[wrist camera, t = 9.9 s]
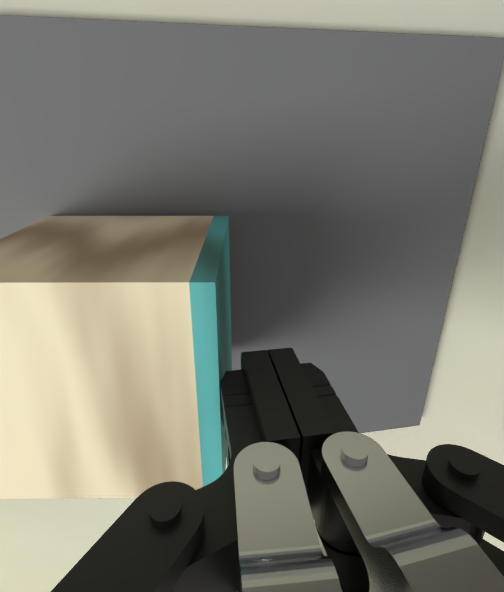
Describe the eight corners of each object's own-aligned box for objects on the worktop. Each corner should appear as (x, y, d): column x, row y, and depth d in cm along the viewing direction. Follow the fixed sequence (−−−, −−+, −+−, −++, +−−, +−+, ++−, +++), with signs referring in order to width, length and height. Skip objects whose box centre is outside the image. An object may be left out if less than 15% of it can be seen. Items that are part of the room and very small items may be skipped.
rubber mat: (497, 40, 16) (508, 37, 16) (413, 418, 24) (419, 425, 24) (-290, 6, 12) (-313, 1, 11) (-69, 482, 20) (-76, 491, 19)
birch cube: (215, 282, 9) (-94, 282, 9) (223, 496, 12) (-10, 498, 12) (228, 215, 15) (50, 215, 15) (231, 365, 18) (81, 365, 18)
